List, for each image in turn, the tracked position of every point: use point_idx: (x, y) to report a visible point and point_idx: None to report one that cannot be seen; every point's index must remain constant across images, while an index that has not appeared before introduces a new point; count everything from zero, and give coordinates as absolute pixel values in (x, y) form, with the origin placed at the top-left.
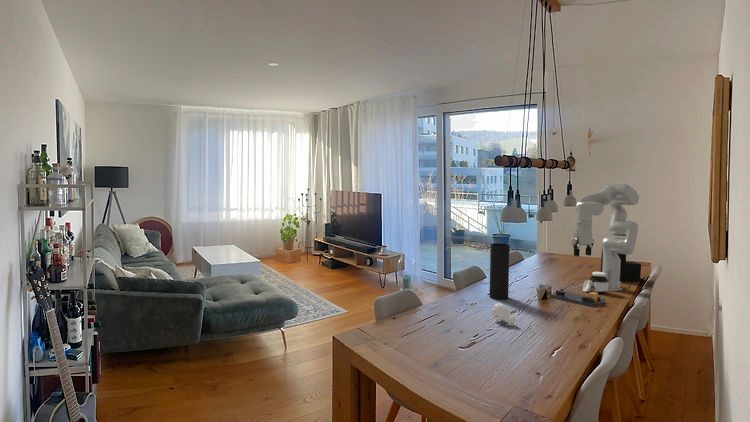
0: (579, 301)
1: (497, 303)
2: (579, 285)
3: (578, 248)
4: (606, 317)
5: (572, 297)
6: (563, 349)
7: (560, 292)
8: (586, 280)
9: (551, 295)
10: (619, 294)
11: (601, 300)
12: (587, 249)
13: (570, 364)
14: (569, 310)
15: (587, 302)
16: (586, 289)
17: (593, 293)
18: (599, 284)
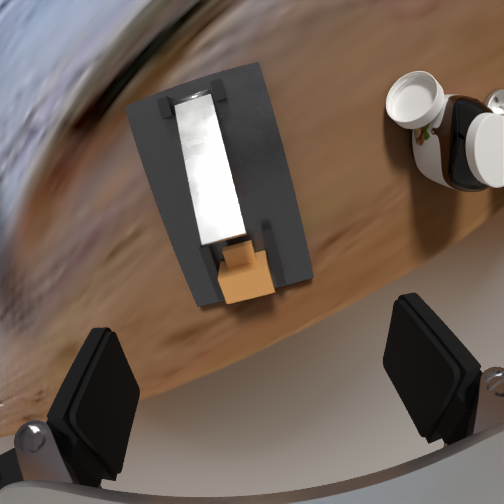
0: (175, 253)
1: None
2: (203, 240)
3: (92, 481)
4: (158, 380)
5: None
6: (3, 408)
7: (177, 115)
8: (437, 87)
9: (127, 112)
10: (468, 207)
11: (286, 280)
12: (432, 386)
13: (4, 426)
14: (87, 294)
15: (196, 280)
16: (404, 98)
17: (242, 291)
18: (435, 172)
